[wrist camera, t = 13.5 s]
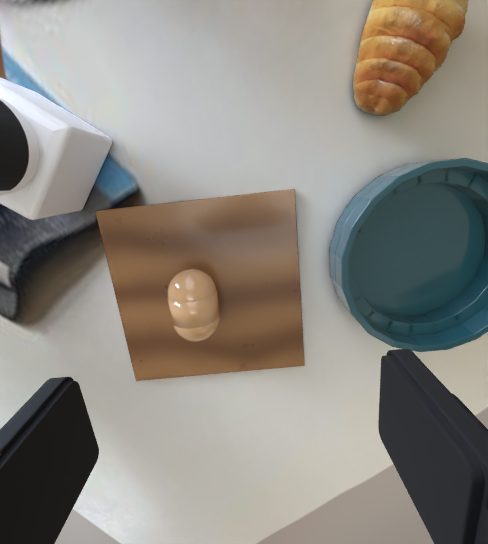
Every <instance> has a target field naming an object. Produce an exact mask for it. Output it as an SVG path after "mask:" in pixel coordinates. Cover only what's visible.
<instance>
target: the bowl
mask: <svg viewBox="0 0 488 544" xmlns="http://www.w3.org/2000/svg"><path fill="white" fill-rule="evenodd" d="M329 256H330V276H331V279H332V282H333V284H334V287H335V289H336V292H337V295H338V297H339V299H340V300H341V301H342V303H343V304H344V305H345V306H346V308H347V309H348V310H349V311H350V313H351V314H352V315H353V316H354V317H355V318H356V320H357V321H358V322H359V323H360V324H361V325H362V326H363V328H364V329H365V330H366V331H367V332H368V333H369V334H370V335H372V336H374V337H376V338H377V339H379V340H381V341H383V342H385V343H386V344H388V345H390V346H392V347H396V348H402V349H410V350H412V351H417V352H425V351H436V350H447V349H451V348H453V347H456V346H459V345H462V344H464V343H467V342H470V341H473V340H475V339H477V338H479V337H481V336H482V335H484V334H485V333H486V332H488V163H485V162H481V161H477V160H473V159H468V158H461V159H450V160H439V161H429V162H420V163H411V164H405V165H403V166H401V167H398V168H396V169H394V170H392V171H389V172H387V173H385V174H383V175H380V176H378V177H377V178H375V179H374V180H373V181H372V182H371V183H370V184H368V185H367V186H366V187H365V188H364V189H362V190H361V191H360V192H359V193H358V194H357V195H355V196H354V197H353V199H352V200H351V202H350V203H349V205H348V206H347V208H346V209H345V211H344V212H343V214H342V215H341V217H340V218H339V220H338V222H337V225H336V228H335V231H334V235H333V238H332V242H331V245H330V249H329Z"/></svg>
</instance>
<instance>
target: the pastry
mask: <svg viewBox="0 0 488 544" xmlns="http://www.w3.org/2000/svg"><path fill="white" fill-rule="evenodd" d="M467 6H468V0H373V2H372V5H371V9H370V12H369V15H368V17H367V21H366V24H365V26H364V29H363V33H362V37H361V42H360V47H359V52H358V57H357V63H356V68H355V73H354V79H353V90H354V99H355V102H356V104H357V106H358V107H359V108H360V109H361V110H363V111H365V112H366V113H369V114H376V115H382V116H383V115H387V114H390V113H393V112H396V111H399V110H400V109H401V108H402V106H403V105H404V104H405V103H406V102H407V101H408V100H409V99H410V98H411V97H413V96H414V95H416V94H417V93H418V91H419V90H420V89H421V88H422V86H423V84H424V83H425V82H426V81H427V80H428V79H429V78H430V77H431V76H432V75H433V73H434V71H436V70H437V69H438V68H439V67H440V66H441V65H442V63H443V62H444V60H445V58H446V55H447V52H448V50H449V47H450V44H451V43H452V41H453V40H454V39H456V38H457V37H458V36H459V35H460V34H461V33H462V30H463V28H464V24H465V14H466V12H467Z"/></svg>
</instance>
